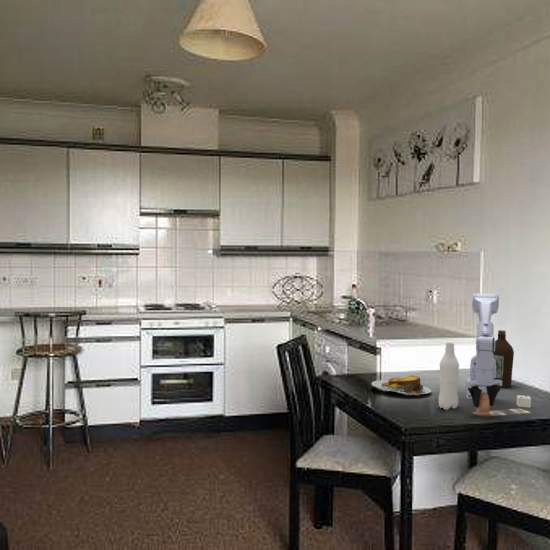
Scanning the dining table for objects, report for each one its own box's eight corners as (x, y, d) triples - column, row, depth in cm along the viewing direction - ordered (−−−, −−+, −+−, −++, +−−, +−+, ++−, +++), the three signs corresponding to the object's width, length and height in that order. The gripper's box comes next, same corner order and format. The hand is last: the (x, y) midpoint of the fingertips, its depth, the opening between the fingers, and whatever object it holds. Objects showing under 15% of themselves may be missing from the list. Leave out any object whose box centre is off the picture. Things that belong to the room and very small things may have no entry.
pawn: (475, 414, 220) (476, 392, 220) (477, 411, 224) (478, 390, 224) (488, 416, 218) (489, 394, 218) (490, 413, 222) (491, 391, 222)
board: (483, 419, 217) (483, 417, 217) (470, 414, 224) (470, 412, 224) (532, 415, 225) (532, 412, 225) (518, 410, 231) (518, 408, 231)
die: (518, 409, 233) (518, 397, 233) (516, 406, 238) (516, 395, 238) (530, 410, 232) (531, 398, 232) (528, 407, 237) (529, 395, 236)
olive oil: (495, 382, 282) (497, 328, 281) (517, 386, 273) (519, 331, 272) (482, 385, 275) (484, 330, 274) (504, 389, 267) (506, 333, 266)
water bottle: (458, 411, 228) (461, 345, 227) (439, 410, 229) (441, 344, 228) (456, 407, 235) (458, 342, 234) (437, 405, 236) (439, 341, 235)
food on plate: (371, 384, 274) (372, 369, 274) (428, 387, 270) (428, 372, 270) (371, 397, 249) (372, 381, 248) (434, 401, 245) (434, 384, 245)
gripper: (475, 372, 215) (473, 410, 215) (508, 370, 219) (507, 407, 220) (462, 368, 221) (461, 405, 222) (495, 366, 226) (494, 402, 227)
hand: (483, 406), depth 221 cm, fingers open, 6 cm apart
